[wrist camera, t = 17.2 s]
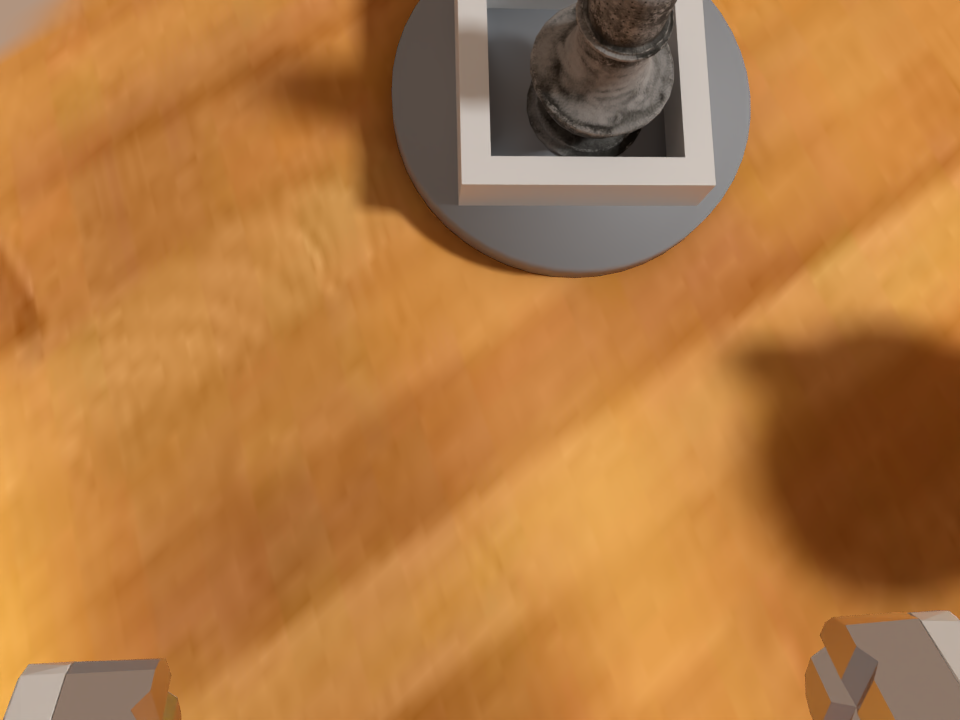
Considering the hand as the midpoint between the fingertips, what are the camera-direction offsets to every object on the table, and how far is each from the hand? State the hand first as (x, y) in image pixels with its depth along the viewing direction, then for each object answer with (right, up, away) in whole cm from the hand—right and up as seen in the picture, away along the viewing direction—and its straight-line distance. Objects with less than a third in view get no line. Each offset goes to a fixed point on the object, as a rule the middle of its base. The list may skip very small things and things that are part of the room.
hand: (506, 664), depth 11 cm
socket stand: (+4, +15, +30) cm, 34 cm away
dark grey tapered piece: (+4, +15, +28) cm, 32 cm away
